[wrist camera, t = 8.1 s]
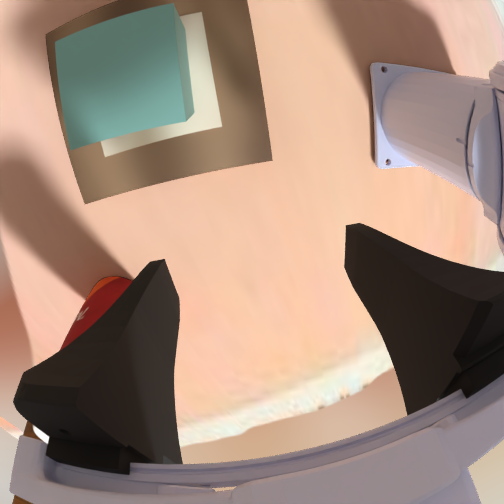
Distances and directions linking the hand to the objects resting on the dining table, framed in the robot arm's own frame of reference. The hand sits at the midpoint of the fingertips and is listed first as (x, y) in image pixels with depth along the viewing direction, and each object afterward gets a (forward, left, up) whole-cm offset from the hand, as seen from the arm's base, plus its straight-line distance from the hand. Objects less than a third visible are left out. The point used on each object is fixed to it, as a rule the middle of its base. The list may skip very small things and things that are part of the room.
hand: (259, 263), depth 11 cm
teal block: (+4, -8, -7) cm, 11 cm away
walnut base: (+4, -8, -10) cm, 13 cm away
